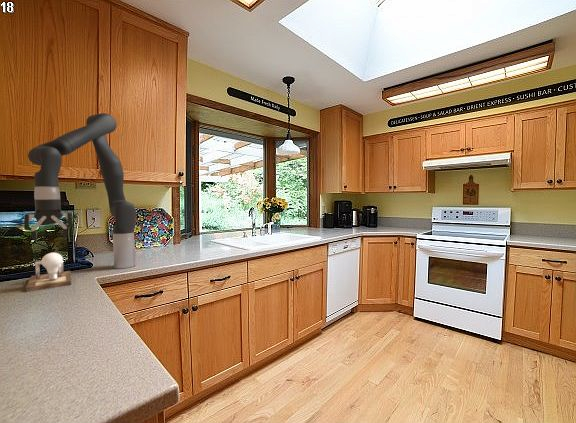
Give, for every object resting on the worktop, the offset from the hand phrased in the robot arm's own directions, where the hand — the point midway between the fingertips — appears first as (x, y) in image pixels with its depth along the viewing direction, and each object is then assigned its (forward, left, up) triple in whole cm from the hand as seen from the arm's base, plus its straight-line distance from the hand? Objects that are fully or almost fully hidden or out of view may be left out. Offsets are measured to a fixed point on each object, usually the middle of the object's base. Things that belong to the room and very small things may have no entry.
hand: (50, 239), depth 107 cm
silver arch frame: (+1, -10, -17) cm, 20 cm away
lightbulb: (0, 0, -17) cm, 17 cm away
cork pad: (0, 0, -17) cm, 17 cm away
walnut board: (+1, -6, -18) cm, 19 cm away
